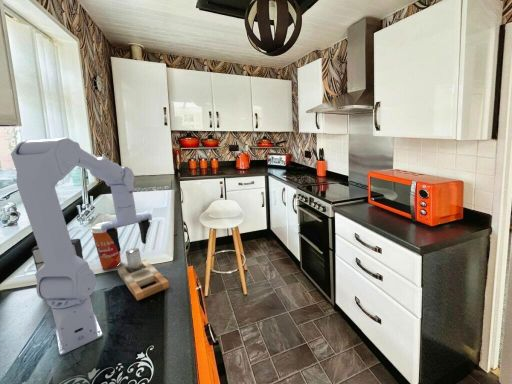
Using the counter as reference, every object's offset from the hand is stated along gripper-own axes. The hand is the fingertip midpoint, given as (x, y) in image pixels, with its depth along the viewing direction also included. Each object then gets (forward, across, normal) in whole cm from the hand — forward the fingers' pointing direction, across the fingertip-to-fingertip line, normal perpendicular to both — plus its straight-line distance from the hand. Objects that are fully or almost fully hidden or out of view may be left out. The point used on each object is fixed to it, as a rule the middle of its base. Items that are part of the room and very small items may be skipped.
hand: (131, 246), depth 86 cm
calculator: (+10, +18, -5) cm, 21 cm away
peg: (+9, 0, 0) cm, 9 cm away
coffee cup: (+10, +4, -13) cm, 17 cm away
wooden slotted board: (+9, 0, +6) cm, 11 cm away
